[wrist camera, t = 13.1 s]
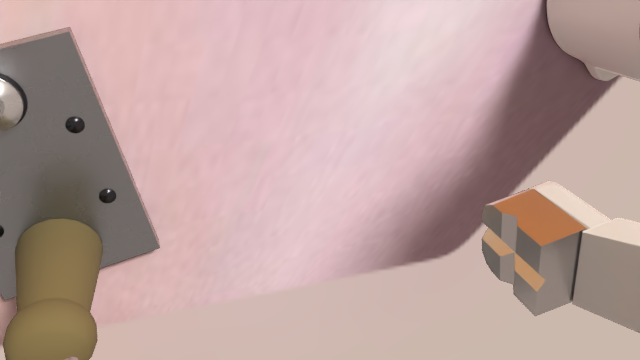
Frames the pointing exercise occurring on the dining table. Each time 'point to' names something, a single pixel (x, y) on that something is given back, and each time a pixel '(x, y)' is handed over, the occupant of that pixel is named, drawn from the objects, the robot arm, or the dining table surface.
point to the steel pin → (9, 105)
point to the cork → (54, 292)
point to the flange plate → (63, 156)
